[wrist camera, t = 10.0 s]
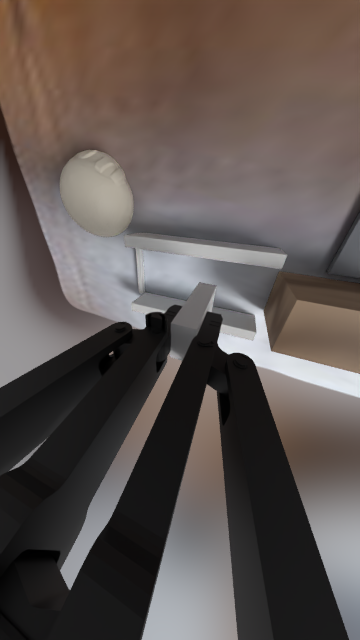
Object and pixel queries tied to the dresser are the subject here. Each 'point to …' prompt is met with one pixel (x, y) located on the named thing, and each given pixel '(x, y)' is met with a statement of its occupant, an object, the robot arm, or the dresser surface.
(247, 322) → the rack
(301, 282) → the panel
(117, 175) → the cream piece
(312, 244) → the dresser surface
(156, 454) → the robot arm
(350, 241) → the felt pad
